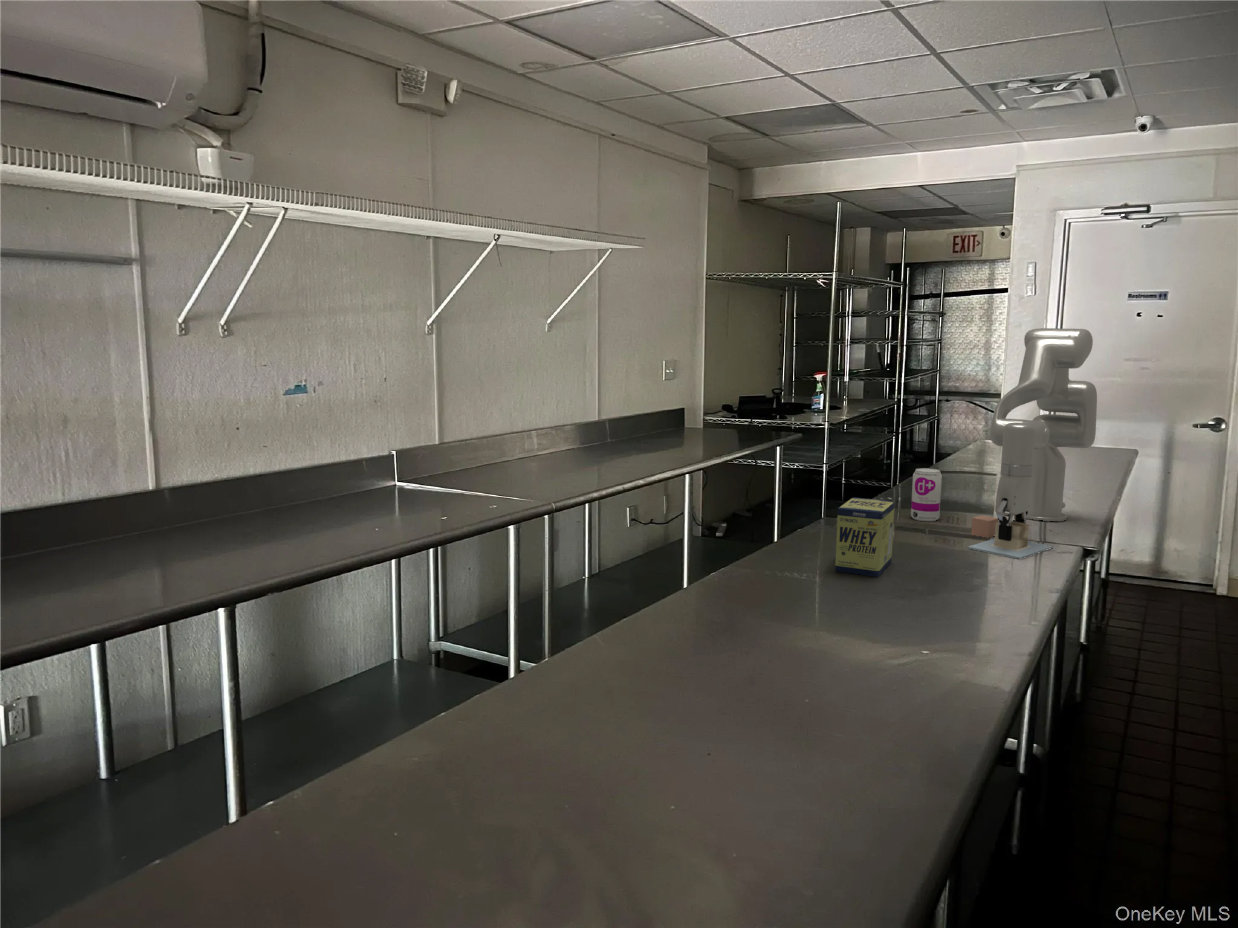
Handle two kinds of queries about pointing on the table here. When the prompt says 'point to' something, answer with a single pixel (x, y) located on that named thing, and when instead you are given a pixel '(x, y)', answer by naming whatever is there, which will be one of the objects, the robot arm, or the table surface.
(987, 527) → the top block
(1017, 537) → the base block
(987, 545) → the board
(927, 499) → the supplement can
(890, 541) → the protein box
